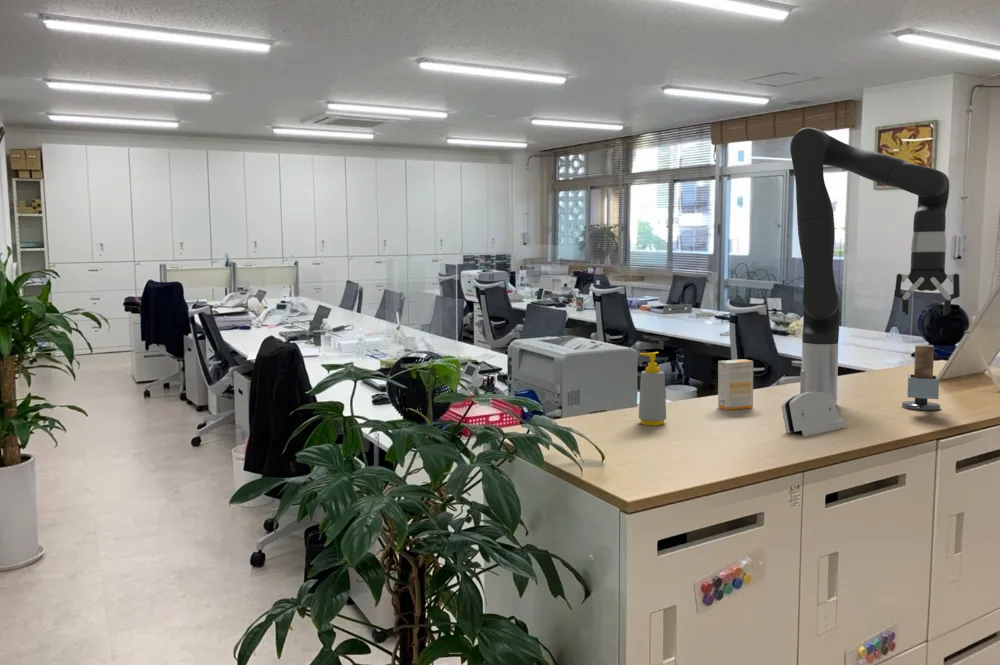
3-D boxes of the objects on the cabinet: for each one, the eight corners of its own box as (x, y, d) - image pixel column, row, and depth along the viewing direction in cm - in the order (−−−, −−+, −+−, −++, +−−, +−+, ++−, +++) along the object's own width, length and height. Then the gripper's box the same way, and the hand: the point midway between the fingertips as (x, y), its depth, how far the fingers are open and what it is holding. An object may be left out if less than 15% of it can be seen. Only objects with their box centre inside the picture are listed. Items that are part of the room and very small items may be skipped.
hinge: (804, 436, 174) (792, 394, 176) (787, 440, 178) (775, 398, 180) (848, 427, 183) (836, 386, 185) (831, 430, 187) (819, 390, 189)
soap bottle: (633, 421, 194) (633, 351, 192) (657, 419, 196) (658, 350, 194) (646, 427, 187) (646, 354, 185) (671, 424, 189) (672, 353, 187)
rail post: (914, 393, 194) (915, 346, 193) (913, 390, 197) (915, 344, 196) (932, 394, 192) (933, 346, 191) (931, 391, 196) (933, 345, 194)
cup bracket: (901, 416, 194) (903, 362, 193) (901, 403, 211) (903, 353, 210) (942, 419, 190) (944, 363, 189) (939, 406, 207) (941, 354, 206)
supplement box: (743, 405, 212) (744, 358, 211) (753, 408, 208) (754, 360, 207) (717, 407, 210) (717, 360, 209) (726, 410, 206) (727, 362, 204)
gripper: (960, 250, 191) (957, 314, 193) (896, 250, 198) (894, 313, 199) (962, 249, 185) (959, 316, 186) (896, 250, 191) (893, 315, 193)
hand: (925, 314), depth 193 cm, fingers open, 8 cm apart
